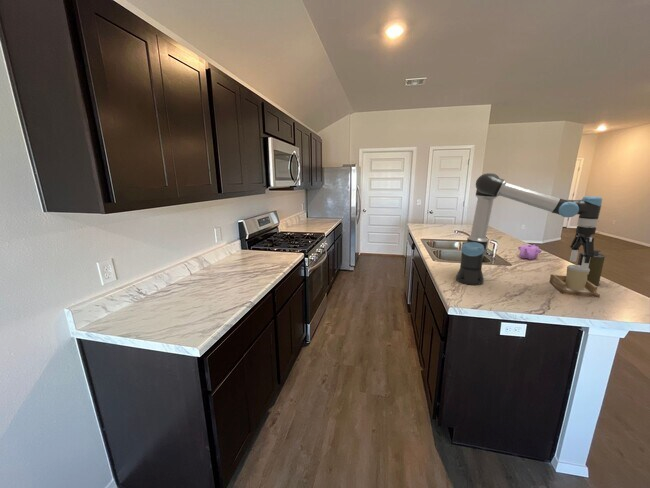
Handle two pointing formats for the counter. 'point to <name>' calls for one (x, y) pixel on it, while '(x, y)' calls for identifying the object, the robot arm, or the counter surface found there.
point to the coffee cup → (576, 277)
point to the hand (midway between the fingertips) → (578, 264)
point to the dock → (560, 285)
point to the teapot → (529, 251)
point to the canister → (594, 266)
